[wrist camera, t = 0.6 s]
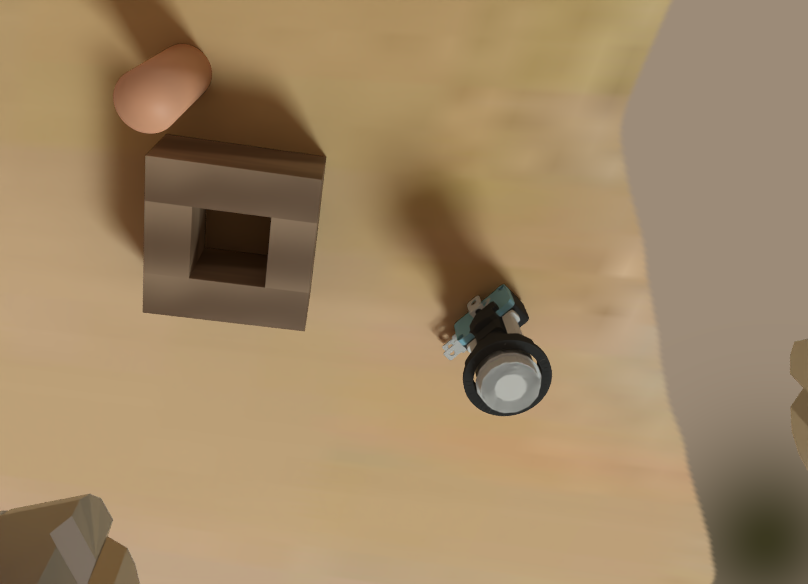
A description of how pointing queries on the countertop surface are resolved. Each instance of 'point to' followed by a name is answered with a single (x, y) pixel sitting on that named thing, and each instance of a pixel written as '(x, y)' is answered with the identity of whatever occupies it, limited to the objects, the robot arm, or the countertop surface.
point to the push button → (500, 356)
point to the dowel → (162, 88)
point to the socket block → (220, 269)
